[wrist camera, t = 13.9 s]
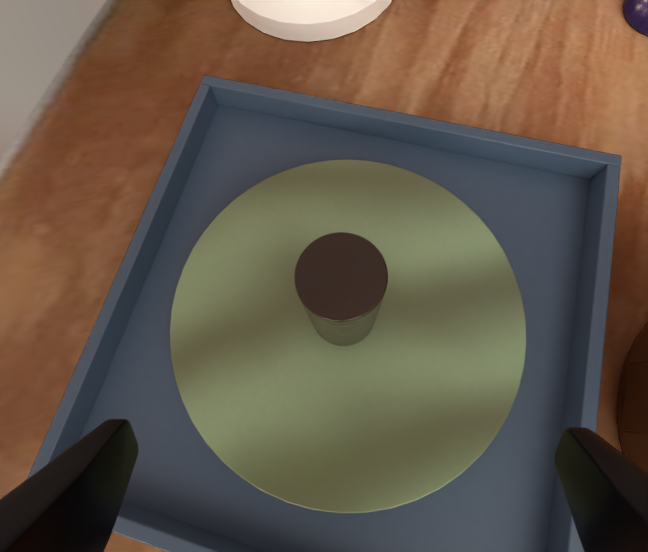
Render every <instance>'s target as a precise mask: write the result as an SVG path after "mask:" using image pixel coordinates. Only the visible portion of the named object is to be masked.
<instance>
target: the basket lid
mask: <svg viewBox="0 0 648 552" xmlns="http://www.w3.org/2000/svg"><path fill="white" fill-rule="evenodd" d="M170 348H171V359H172V364H173V370H174V375H175V380H176V383H177V386H178V389H179V392H180V395H181V398H182V401H183V403H184V405H185V408H186V410H187V412H188V414H189V416H190V418H191V420H192V422H193V424H194V425H195V427H196V428H197V430H198V431H199V433H200V434H201V436H202V437H203V439H204V440H205V442H206V443H207V445H208V446H209V447H210V448H211V449H212V450H213V451H214V452H215V454H216V455H217V456H218V457H219V458H220V459H221V460H222V462H224V463H225V464H226V465H227V466H228V467H229V468H231V469H232V470H233V471H234V472H235V473H236V474H238V475H239V476H240V477H241V478H242V479H244V480H245V481H247V482H249V483H250V484H252V485H253V486H255V487H256V488H258V489H260V490H261V491H263V492H265V493H267V494H269V495H271V496H274V497H276V498H278V499H280V500H282V501H285V502H287V503H290V504H294V505H297V506H301V507H304V508H308V509H311V510H317V511H325V512H332V513H368V512H374V511H380V510H386V509H392V508H395V507H398V506H401V505H404V504H407V503H410V502H413V501H416V500H418V499H420V498H423V497H425V496H427V495H429V494H431V493H433V492H435V491H437V490H439V489H440V488H442V487H443V486H445V485H446V484H448V483H449V482H451V481H452V480H453V479H455V478H456V477H458V476H459V475H461V474H462V473H463V472H464V471H465V470H466V469H467V468H468V467H469V466H470V465H471V464H473V463H474V462H475V461H476V460H477V459H478V458H479V457H480V456H481V455H482V453H483V452H484V451H485V450H486V448H487V447H488V446H489V445H490V443H491V442H492V441H493V440H494V438H495V437H496V436H497V434H498V432H499V430H500V429H501V427H502V425H503V424H504V422H505V420H506V418H507V417H508V415H509V413H510V410H511V408H512V405H513V403H514V400H515V398H516V395H517V393H518V390H519V386H520V381H521V377H522V373H523V369H524V362H525V352H526V319H525V313H524V307H523V302H522V296H521V293H520V289H519V286H518V283H517V280H516V277H515V274H514V271H513V269H512V267H511V265H510V263H509V261H508V258H507V256H506V254H505V252H504V251H503V249H502V248H501V246H500V244H499V243H498V241H497V240H496V238H495V236H494V235H493V233H492V232H491V231H490V230H489V229H488V227H487V226H486V225H485V224H484V222H483V221H482V220H481V219H480V218H479V216H478V215H476V214H475V213H474V212H473V211H472V210H471V209H470V208H469V207H468V206H467V205H466V204H465V203H464V202H463V201H461V200H460V199H459V198H457V197H456V196H455V195H453V194H452V193H451V192H449V191H448V190H447V189H445V188H443V187H442V186H440V185H438V184H436V183H435V182H433V181H431V180H429V179H428V178H425V177H423V176H421V175H418V174H416V173H414V172H411V171H409V170H406V169H403V168H399V167H396V166H393V165H389V164H384V163H378V162H373V161H365V160H348V159H346V160H329V161H322V162H316V163H310V164H305V165H302V166H298V167H295V168H292V169H288V170H285V171H283V172H281V173H278V174H276V175H274V176H271V177H269V178H267V179H265V180H263V181H262V182H260V183H258V184H256V185H255V186H253V187H251V188H249V189H248V190H247V191H245V192H244V193H243V194H241V195H240V196H239V197H237V198H236V199H234V200H233V201H232V202H231V203H230V204H229V205H228V206H227V207H226V208H225V209H224V210H222V211H221V212H220V213H219V214H218V215H217V216H216V218H215V219H214V220H213V221H212V222H211V224H210V225H209V226H208V227H207V228H206V229H205V231H204V232H203V234H202V235H201V237H200V238H199V240H198V241H197V243H196V244H195V246H194V247H193V249H192V251H191V253H190V255H189V257H188V259H187V261H186V263H185V265H184V267H183V270H182V273H181V276H180V279H179V282H178V285H177V287H176V292H175V296H174V301H173V306H172V311H171V323H170Z"/></svg>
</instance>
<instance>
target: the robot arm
mask: <svg viewBox="0 0 648 552" xmlns="http://www.w3.org/2000/svg"><path fill="white" fill-rule="evenodd" d="M138 452H139V446H138V442H137V439H136V437H135V434H134V431H133V428H132V426H131V423H130V421H128V420H127V419H108V420H106V421H104V422H103V423H102V424H100V425H99V426H98V427H96V428H95V429H94V430H92V431H91V432H90V433H88V434H87V435H86V436H84V437H83V438H82V439H80V440H79V441H78V442H76V443H75V444H74V445H72V446H71V447H70V448H68V449H67V450H66V451H64V452H63V453H62V454H60V455H59V456H57V457H56V458H55V459H53V460H52V461H51V462H49V463H48V464H47V465H45V466H44V467H43V468H41V469H40V470H39V471H37V472H36V473H35V474H33V475H32V476H31V477H29V478H28V479H27V480H25V481H24V482H23V483H21V484H20V485H19V486H17V487H16V488H15V489H13V490H12V491H11V492H9V493H8V494H7V495H5V496H4V497H3V498H1V499H0V552H104V549H105V547H106V545H107V543H108V540H109V538H110V535H111V533H112V531H113V528H114V525H115V522H116V520H117V517H118V514H119V511H120V508H121V505H122V502H123V499H124V496H125V493H126V490H127V487H128V484H129V481H130V478H131V475H132V472H133V469H134V466H135V463H136V460H137V457H138ZM555 465H556V469H557V472H558V475H559V478H560V481H561V484H562V487H563V490H564V493H565V496H566V499H567V502H568V505H569V508H570V511H571V515H572V518H573V521H574V524H575V527H576V530H577V533H578V536H579V538H580V541H581V544H582V547H583V549H584V552H648V473H647V472H646V471H644V470H643V469H642V468H641V467H639V466H638V465H637V464H635V463H634V462H633V461H631V460H630V459H629V458H627V457H626V456H625V455H624V454H622V453H621V452H620V451H618V450H617V449H616V448H614V447H613V446H612V445H610V444H609V443H608V442H607V441H605V440H604V439H603V438H601V437H600V436H599V435H597V434H596V433H595V432H593V431H592V430H590V429H588V428H585V427H567V428H565V429H564V430H563V432H562V435H561V438H560V441H559V443H558V446H557V449H556V452H555Z"/></svg>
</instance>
